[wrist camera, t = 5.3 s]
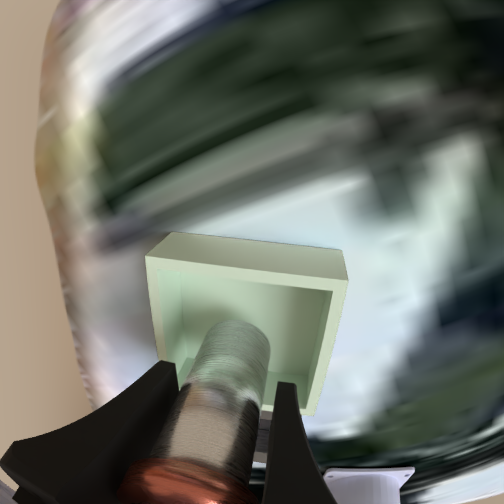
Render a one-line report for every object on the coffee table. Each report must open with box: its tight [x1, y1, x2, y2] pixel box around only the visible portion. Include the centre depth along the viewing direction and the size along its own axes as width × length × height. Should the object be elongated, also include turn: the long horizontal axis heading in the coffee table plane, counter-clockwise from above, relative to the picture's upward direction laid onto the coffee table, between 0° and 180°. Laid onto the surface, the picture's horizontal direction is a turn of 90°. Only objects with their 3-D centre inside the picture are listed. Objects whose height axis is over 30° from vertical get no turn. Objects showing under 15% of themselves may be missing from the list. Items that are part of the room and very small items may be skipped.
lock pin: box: [117, 320, 271, 504], centre depth 11 cm, size 4×4×9 cm
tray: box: [145, 232, 348, 416], centre depth 15 cm, size 8×8×3 cm
